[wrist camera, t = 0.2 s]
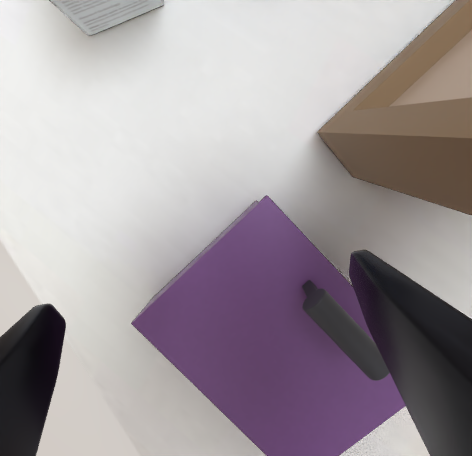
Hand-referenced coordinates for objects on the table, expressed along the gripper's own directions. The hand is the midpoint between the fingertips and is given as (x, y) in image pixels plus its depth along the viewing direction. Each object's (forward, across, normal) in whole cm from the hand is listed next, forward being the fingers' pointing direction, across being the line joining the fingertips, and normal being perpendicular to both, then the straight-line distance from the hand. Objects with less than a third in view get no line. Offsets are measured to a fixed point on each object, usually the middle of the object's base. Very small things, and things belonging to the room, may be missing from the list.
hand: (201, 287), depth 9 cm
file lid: (+5, -3, +13) cm, 14 cm away
